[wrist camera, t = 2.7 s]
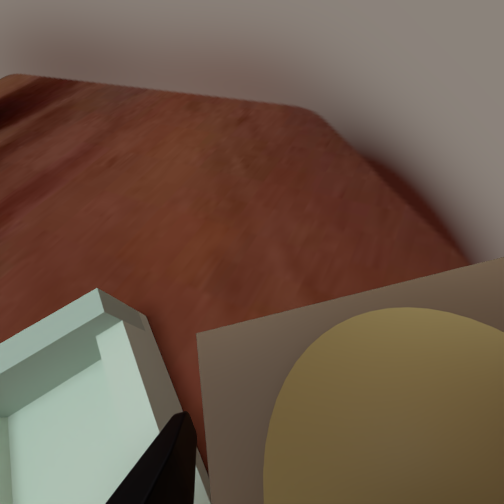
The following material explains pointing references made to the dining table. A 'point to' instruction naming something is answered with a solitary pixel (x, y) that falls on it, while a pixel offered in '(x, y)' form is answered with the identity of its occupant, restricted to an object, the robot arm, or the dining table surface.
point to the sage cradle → (82, 404)
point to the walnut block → (362, 397)
